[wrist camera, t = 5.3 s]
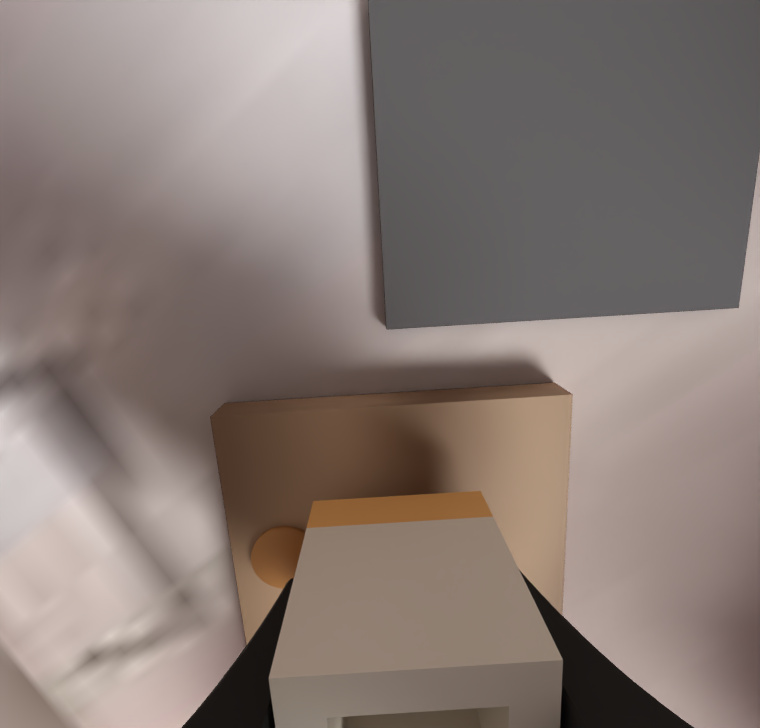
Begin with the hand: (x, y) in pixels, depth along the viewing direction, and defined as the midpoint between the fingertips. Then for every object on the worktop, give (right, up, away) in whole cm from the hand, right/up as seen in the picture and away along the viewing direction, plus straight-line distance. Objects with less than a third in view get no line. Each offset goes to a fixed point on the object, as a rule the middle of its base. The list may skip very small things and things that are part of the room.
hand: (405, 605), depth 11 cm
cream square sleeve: (0, 0, +1) cm, 1 cm away
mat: (+4, +11, +1) cm, 12 cm away
